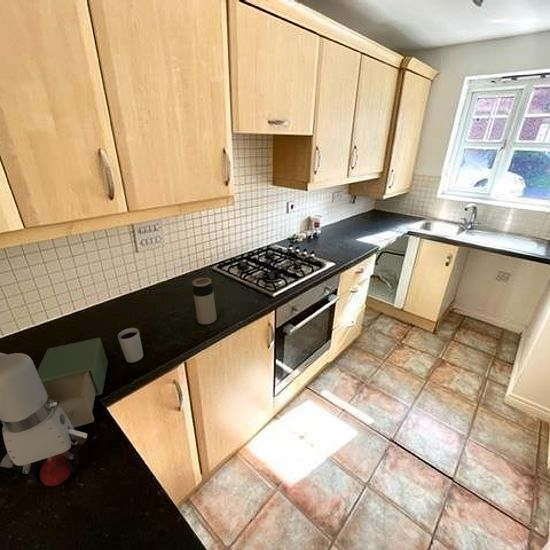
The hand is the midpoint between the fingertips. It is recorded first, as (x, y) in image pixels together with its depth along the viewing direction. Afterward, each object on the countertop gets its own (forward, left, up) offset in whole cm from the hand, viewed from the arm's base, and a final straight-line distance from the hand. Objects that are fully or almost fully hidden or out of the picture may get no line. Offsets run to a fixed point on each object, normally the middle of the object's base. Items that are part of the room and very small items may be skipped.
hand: (57, 471), depth 66 cm
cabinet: (-2, +33, -3) cm, 33 cm away
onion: (0, 0, -3) cm, 3 cm away
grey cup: (+14, +40, -3) cm, 42 cm away
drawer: (-2, +19, -2) cm, 19 cm away
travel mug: (+42, +54, -3) cm, 68 cm away
